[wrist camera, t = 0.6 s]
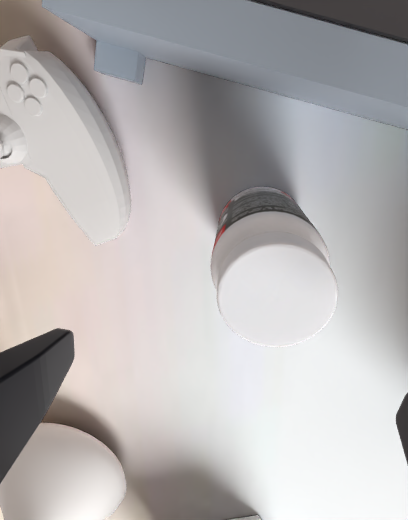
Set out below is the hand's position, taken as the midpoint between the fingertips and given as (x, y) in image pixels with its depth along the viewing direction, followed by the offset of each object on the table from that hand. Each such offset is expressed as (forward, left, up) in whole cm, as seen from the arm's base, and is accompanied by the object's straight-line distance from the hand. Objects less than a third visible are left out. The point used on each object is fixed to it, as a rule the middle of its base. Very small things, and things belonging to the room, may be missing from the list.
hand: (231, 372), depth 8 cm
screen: (-1, -9, -11) cm, 14 cm away
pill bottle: (-1, -1, -11) cm, 11 cm away
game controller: (+14, -1, -12) cm, 18 cm away
